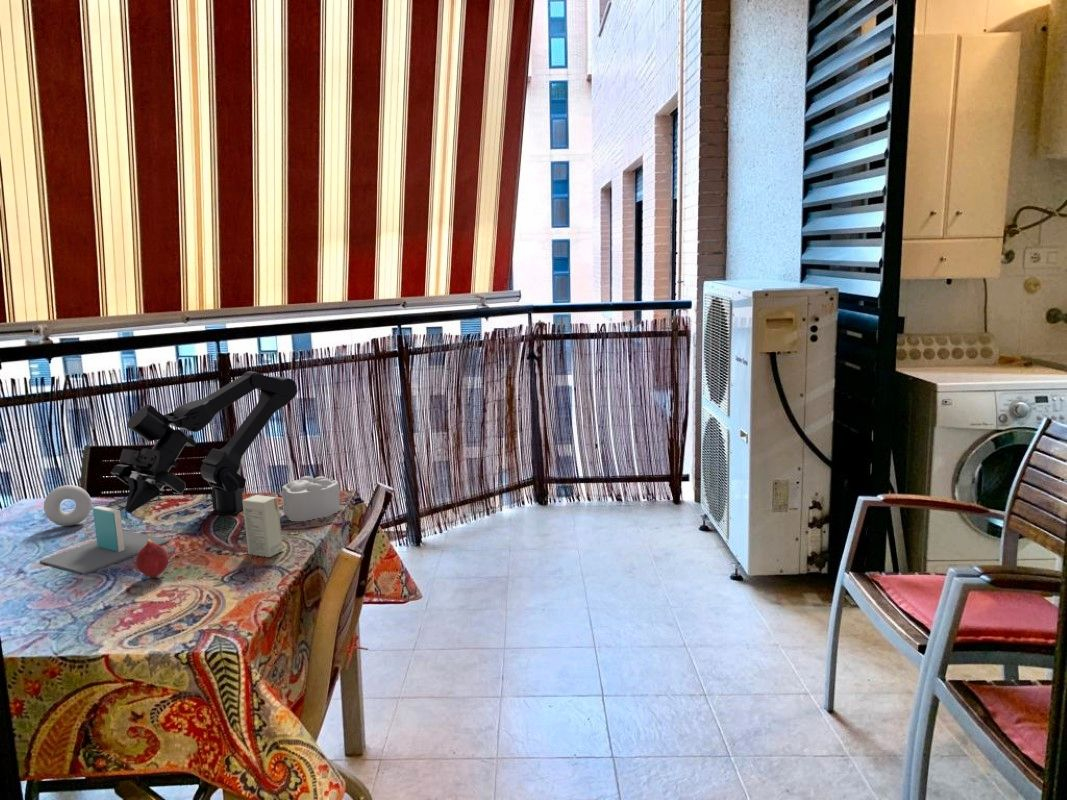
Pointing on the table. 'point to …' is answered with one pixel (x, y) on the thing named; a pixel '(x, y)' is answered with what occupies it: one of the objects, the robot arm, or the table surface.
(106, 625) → the table surface
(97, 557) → the mat
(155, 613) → the table surface
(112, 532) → the tile
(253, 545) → the skincare box
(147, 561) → the onion
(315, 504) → the lumpy-topped squat cylinder
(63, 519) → the donut
